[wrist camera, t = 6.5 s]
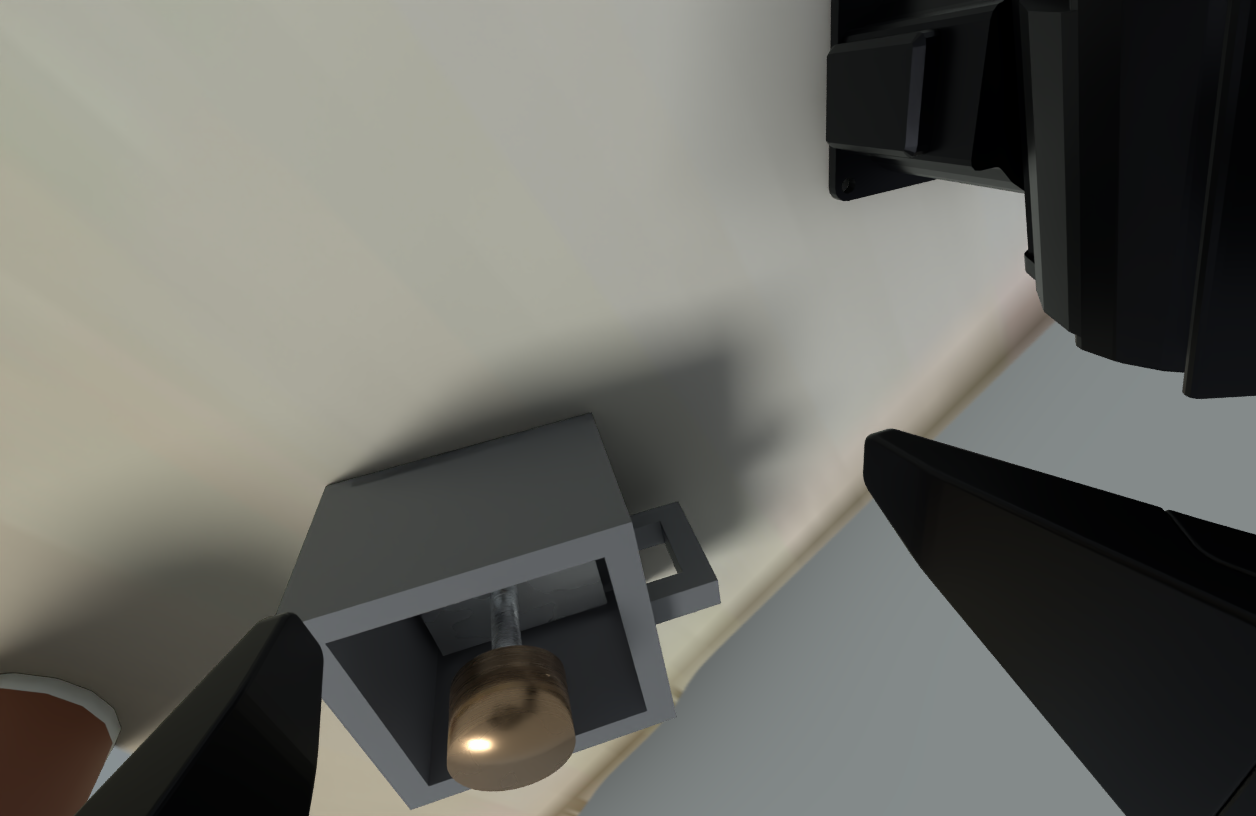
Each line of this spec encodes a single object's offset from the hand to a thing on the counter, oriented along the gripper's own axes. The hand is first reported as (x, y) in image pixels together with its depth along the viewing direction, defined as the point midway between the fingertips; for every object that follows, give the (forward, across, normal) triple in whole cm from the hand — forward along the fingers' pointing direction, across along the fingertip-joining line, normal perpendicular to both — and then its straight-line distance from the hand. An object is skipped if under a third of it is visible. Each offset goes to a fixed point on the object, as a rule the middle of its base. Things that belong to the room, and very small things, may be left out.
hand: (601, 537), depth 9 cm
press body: (+12, +3, +10) cm, 16 cm away
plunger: (+11, +4, +10) cm, 15 cm away
